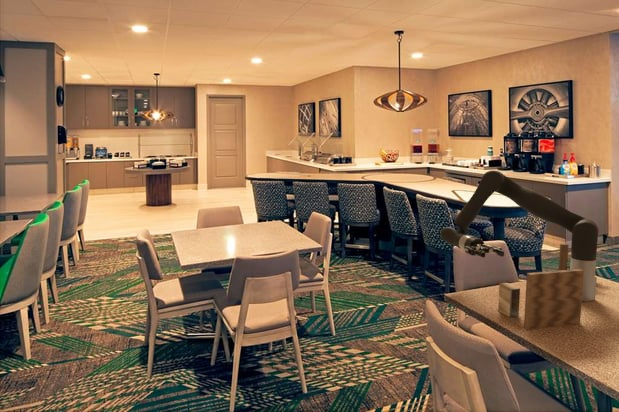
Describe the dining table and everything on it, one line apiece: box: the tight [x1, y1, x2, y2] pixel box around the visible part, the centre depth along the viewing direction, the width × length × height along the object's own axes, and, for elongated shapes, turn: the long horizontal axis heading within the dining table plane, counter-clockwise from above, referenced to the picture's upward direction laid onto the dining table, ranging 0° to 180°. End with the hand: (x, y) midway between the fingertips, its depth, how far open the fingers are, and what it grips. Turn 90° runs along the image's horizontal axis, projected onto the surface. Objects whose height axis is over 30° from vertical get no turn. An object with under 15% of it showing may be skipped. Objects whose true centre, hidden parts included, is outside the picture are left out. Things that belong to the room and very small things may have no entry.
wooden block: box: [557, 242, 570, 271], centre depth 229 cm, size 4×11×18 cm, turn 58°
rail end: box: [497, 282, 521, 318], centre depth 191 cm, size 3×8×11 cm, turn 13°
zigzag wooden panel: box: [523, 269, 584, 330], centre depth 181 cm, size 22×7×20 cm, turn 103°
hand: (493, 254), depth 200 cm, fingers open, 8 cm apart
